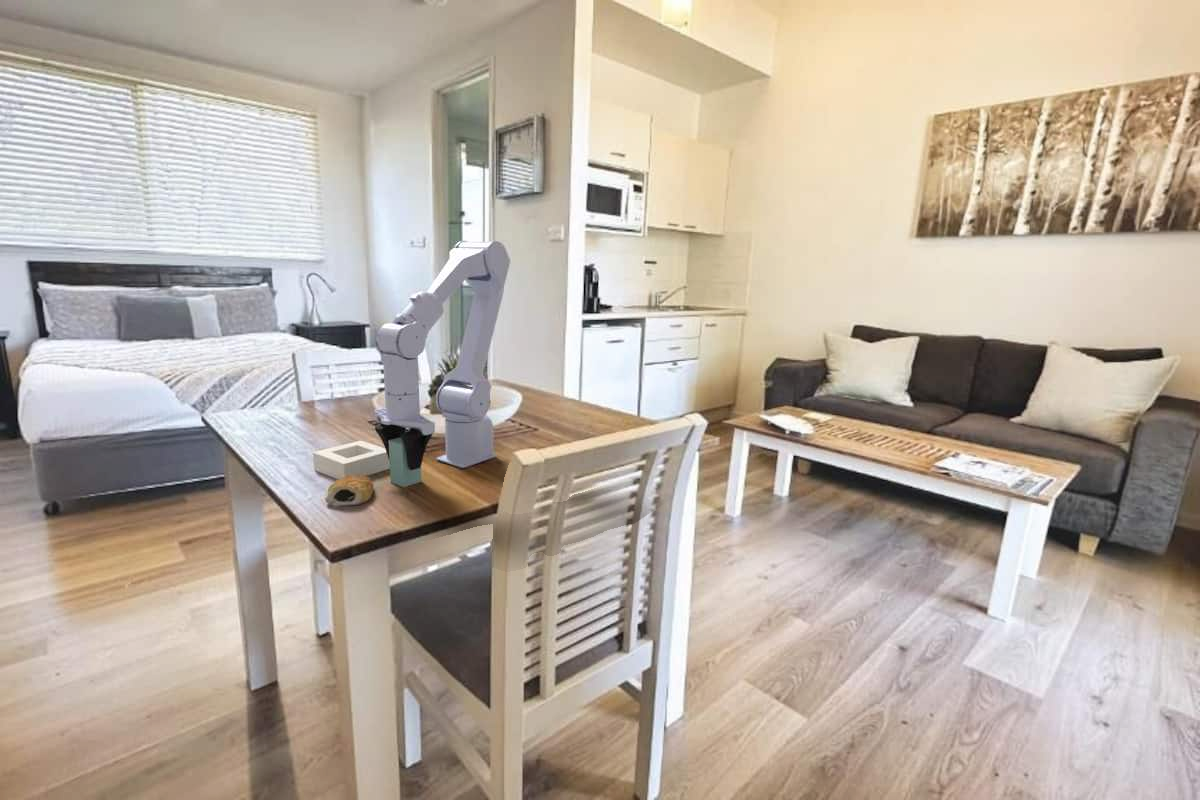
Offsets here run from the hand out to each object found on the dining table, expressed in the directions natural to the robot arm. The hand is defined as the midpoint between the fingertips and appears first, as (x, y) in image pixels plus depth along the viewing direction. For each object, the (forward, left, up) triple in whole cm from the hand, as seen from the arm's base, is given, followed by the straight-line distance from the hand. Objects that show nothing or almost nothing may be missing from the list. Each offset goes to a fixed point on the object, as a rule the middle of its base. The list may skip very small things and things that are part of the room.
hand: (405, 465), depth 103 cm
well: (+2, -13, -3) cm, 14 cm away
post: (0, 0, -3) cm, 3 cm away
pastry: (+10, -1, -4) cm, 11 cm away
